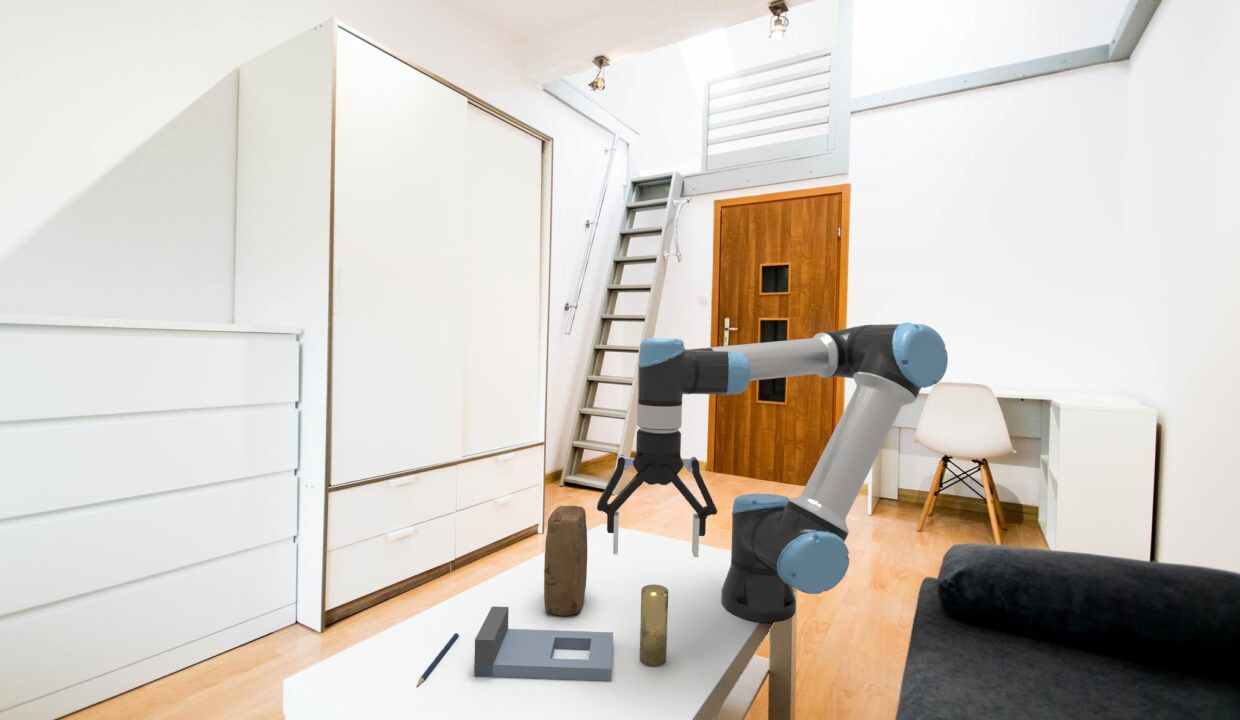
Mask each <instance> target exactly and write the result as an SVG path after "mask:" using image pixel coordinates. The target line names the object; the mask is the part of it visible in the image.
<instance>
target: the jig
mask: <svg viewBox="0 0 1240 720" xmlns="http://www.w3.org/2000/svg"><path fill="white" fill-rule="evenodd" d="M509 610H510V608H509V606H491V607H490V609H489V611H488V613H487V615H486V617H485V620H484V621H483V623H482V626H481V627H480V629H479V631H478V633H477V635H476V637H475V639H474V669H473V674H474V677H484V678H485V677H488V678H508V679H509V678H510V679H511V678H513V679H517V678H518V679H539V680H540V679H543V680H565V681H567V680H570V681H595V682H596V681H597V682H598V681H601V682H611V681H612V667H613V651H614V650H613V647H614V631H613V632H611V631H609V632H608V631H586V630H585V631H581V630H559V629H558V630H557V629H555V630H554V629H530V628H529V629H527V628H526V629H524V628H509ZM557 649H561V650H589V655H588V659H582V658H581V659H578V658H576V659H575V658H574V659H573V658H553V657H554V655H555V654H554V653H555V650H557Z"/></svg>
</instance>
